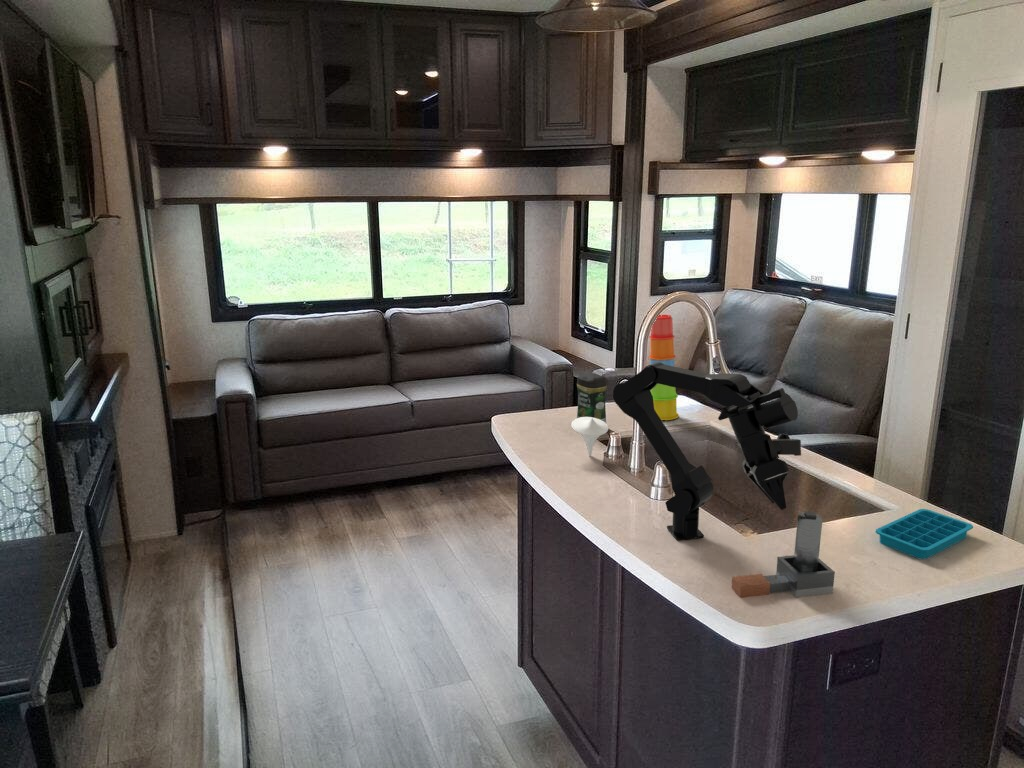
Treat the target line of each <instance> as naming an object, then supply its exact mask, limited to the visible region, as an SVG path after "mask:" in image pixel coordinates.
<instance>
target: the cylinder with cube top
mask: <svg viewBox="0 0 1024 768" xmlns="http://www.w3.org/2000/svg"><path fill="white" fill-rule="evenodd" d="M796 520H797V521H796V532H795V541H794V542H795V543H794V553H793V555H794V562H793V568H794V569H795V570H796V571H797V572H798V573H799V574H800V573H809V572H817V568H818V559H820V558H819V557H820V547H821V539H822V530H823V529H822V528H823V517H822V516H821V514H818V513H816V512H815V511H808V510H805V511H803V512H799V513H798V514H797V519H796Z"/></svg>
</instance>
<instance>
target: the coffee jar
mask: <svg viewBox="0 0 1024 768" xmlns="http://www.w3.org/2000/svg"><path fill="white" fill-rule="evenodd" d="M576 380H577V381H576V388H577V412H576V413H577V415H576V419H577V418H580V417H593V418H597V419H600V420H602V421H604V422H605V423H606V424H607V414H606V413H607V412H606V411H607V410H606V392H607V387H608V385H607V383H608V382H607V378H606V377H605V376H604V375H600V374H596V373H592V372H591V371H585V372H581V373H579V374H577V379H576Z"/></svg>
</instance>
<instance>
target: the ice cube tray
mask: <svg viewBox="0 0 1024 768" xmlns="http://www.w3.org/2000/svg"><path fill="white" fill-rule="evenodd" d="M973 528H974V525H973V524H971V523H969V522H966V521H964V520H960V519H957V518H954V517H952V516H948V515H945V514H943V513H940V512H936V511H934V510H930V509H929V508H920V509H917V510H915V511H913V512H911V513H909V514H906V515H904V516H903V517H902V516H901V517H900V518H898V519H895V520H893V521H892V522H888V523H887V524H885V525H883V526H881V527H878V528H876V529H875V531H874V532H875V533H876V534H877V535H878V536H879V543H880V544H881V545H884V546H886V547H888V548H892V549H894V550H897V551H899V552H902V553H904V554H906V555H910V556H911V557H915V558H916V559H920V560H926V559H928V558H930V557H932V556H934V555H936V554H938V553H940V552H942V551H943V550H945V549H947V548H949V547H951V546H954V545H955V544H957V543H959V542H961V541H963V540H964V539H966V537H967V534H968V531H970V530H973Z"/></svg>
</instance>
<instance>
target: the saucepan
mask: <svg viewBox="0 0 1024 768" xmlns="http://www.w3.org/2000/svg"><path fill="white" fill-rule="evenodd" d="M793 562H794V554H793V555H785V556H784V555H783V556H777V560H776V573H775V574H772V575H771V574H770V575H763V573H755V574H746V575H738V576H732V577H731V589H732V590H733V591H734V592H735V594H736V595H737V596H738V597H739V598H746V597H755V596H756V597H757V596H764V595H770V594H775V593H776V594H777V593H783V592H790V593H791V595H793V596H794V597H795V598H801V597H809V596H819V595H828V594H833V593H834V582H835V573H836V572H835V571H834V570H833V569H832V568H831V567H830V566H829V565H827V564H826V563H825V562H824V561H822V559H820V558H819V559H818V568H817V572H809V573H800V574H799V573H798V572H797V571H796V570H795V569H794V568H793Z"/></svg>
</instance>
